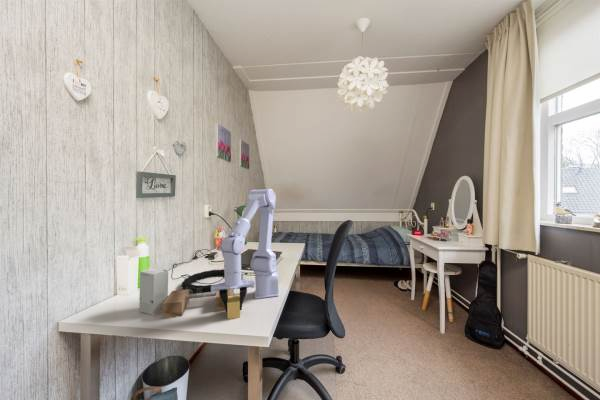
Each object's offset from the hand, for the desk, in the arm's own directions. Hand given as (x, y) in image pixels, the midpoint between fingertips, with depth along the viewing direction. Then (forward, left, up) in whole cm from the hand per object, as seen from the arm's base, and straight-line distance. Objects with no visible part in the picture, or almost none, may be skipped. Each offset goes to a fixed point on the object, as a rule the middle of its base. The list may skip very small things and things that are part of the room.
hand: (233, 309), depth 82 cm
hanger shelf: (+12, -10, -1) cm, 16 cm away
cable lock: (+11, -34, -2) cm, 36 cm away
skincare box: (+28, -12, -2) cm, 31 cm away
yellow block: (0, 0, -1) cm, 1 cm away
